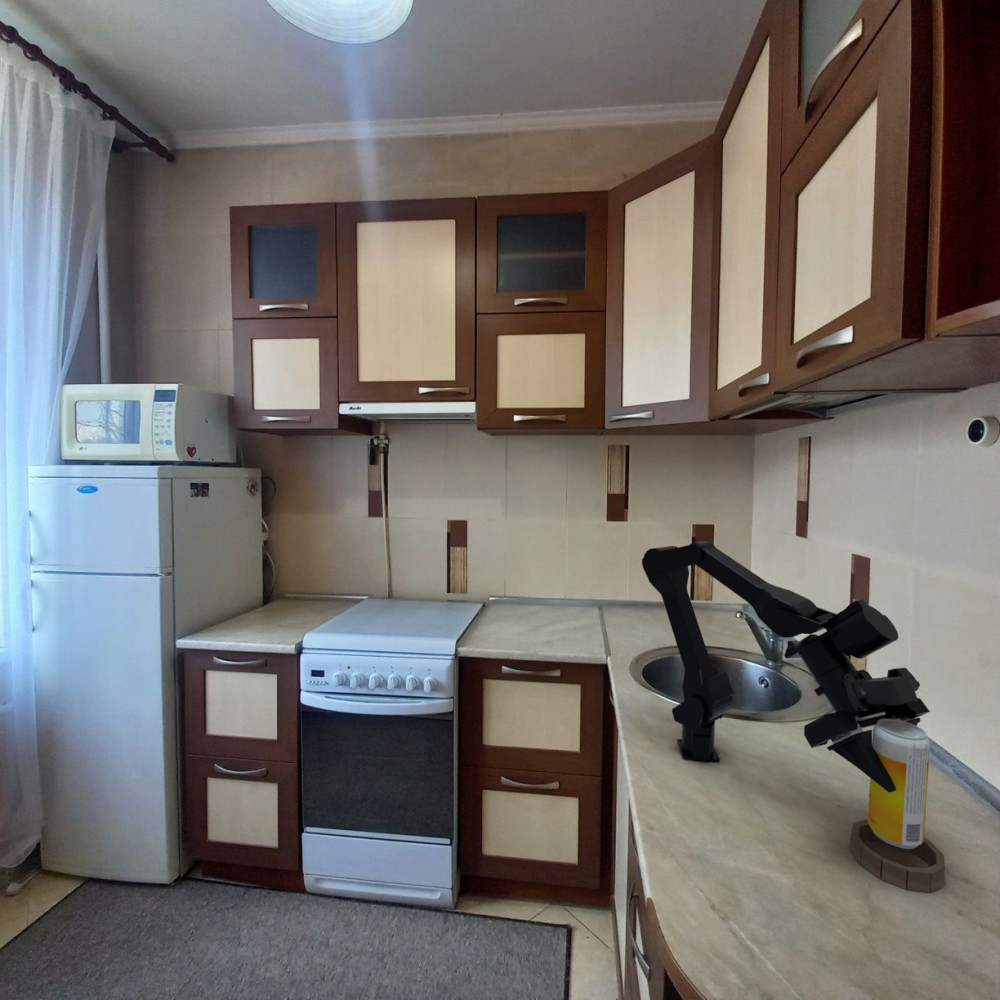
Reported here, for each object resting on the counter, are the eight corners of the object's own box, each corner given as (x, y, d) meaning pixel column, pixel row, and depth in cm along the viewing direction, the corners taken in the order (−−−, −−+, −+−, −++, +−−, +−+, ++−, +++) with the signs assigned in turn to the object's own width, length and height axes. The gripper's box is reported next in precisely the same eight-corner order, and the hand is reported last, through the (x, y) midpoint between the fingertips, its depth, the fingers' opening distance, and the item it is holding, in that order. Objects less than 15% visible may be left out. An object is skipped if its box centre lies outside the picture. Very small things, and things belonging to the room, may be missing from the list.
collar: (837, 833, 78) (838, 816, 77) (913, 840, 76) (914, 824, 76) (874, 886, 68) (875, 867, 68) (962, 896, 66) (964, 877, 66)
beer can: (893, 818, 75) (900, 715, 74) (935, 849, 69) (943, 737, 68) (856, 823, 74) (862, 718, 73) (895, 854, 68) (902, 741, 67)
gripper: (827, 656, 70) (912, 784, 61) (919, 641, 77) (1008, 753, 68) (775, 690, 78) (842, 807, 69) (861, 673, 85) (934, 778, 76)
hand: (908, 786), depth 70 cm, fingers closed on beer can, 6 cm apart
